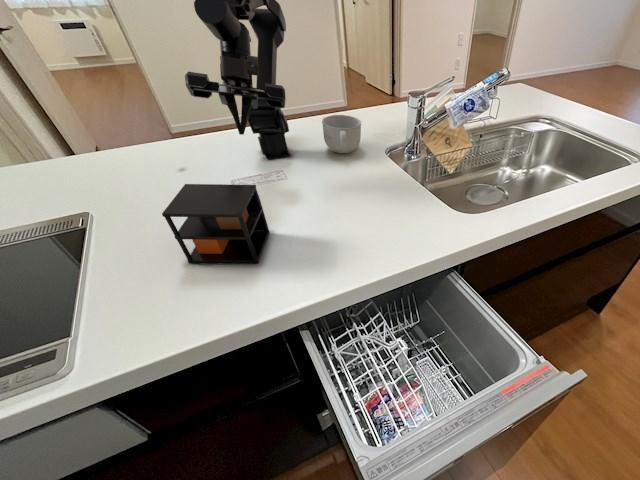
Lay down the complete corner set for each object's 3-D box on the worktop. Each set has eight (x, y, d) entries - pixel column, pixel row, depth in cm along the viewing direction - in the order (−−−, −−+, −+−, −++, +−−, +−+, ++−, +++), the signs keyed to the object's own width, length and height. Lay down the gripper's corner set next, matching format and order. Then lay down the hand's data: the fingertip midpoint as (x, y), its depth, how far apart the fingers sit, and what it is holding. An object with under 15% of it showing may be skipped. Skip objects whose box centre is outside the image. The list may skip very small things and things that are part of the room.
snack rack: (207, 232, 72) (185, 183, 64) (269, 232, 73) (255, 184, 65) (188, 263, 66) (161, 213, 58) (258, 263, 66) (240, 214, 58)
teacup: (328, 140, 105) (325, 112, 100) (364, 142, 106) (362, 114, 100) (320, 161, 96) (316, 131, 90) (359, 163, 96) (357, 133, 90)
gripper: (173, 21, 61) (182, 116, 64) (284, 43, 68) (288, 128, 70) (187, 53, 71) (195, 133, 74) (282, 69, 78) (286, 142, 80)
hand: (241, 134), depth 74 cm, fingers closed
